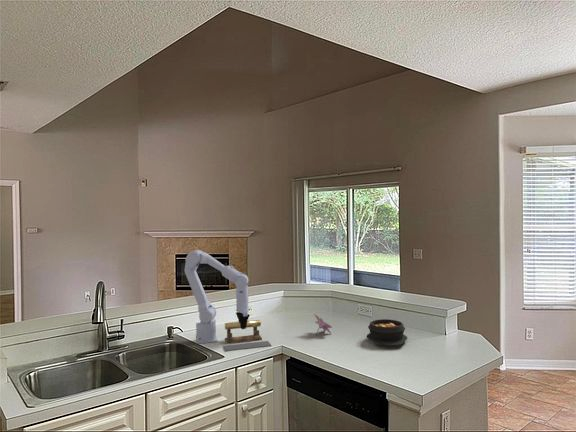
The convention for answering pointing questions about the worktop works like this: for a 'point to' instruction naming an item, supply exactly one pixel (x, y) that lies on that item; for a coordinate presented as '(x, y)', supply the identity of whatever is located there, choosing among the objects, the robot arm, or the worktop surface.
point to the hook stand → (242, 337)
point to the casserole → (386, 332)
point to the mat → (247, 346)
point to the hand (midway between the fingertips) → (242, 328)
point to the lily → (322, 324)
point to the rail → (237, 325)
